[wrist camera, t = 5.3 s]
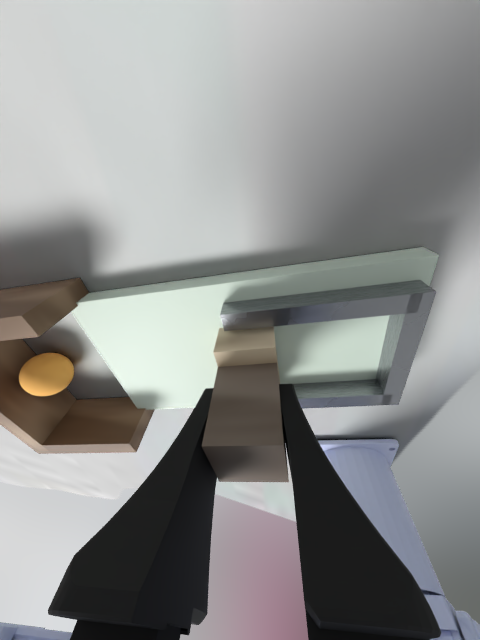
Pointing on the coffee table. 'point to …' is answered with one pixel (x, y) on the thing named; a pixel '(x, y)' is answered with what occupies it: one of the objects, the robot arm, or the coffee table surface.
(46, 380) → the ball
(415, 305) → the rail
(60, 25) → the coffee table surface
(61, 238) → the coffee table surface
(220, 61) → the coffee table surface
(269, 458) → the block
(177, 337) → the plate
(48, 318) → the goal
